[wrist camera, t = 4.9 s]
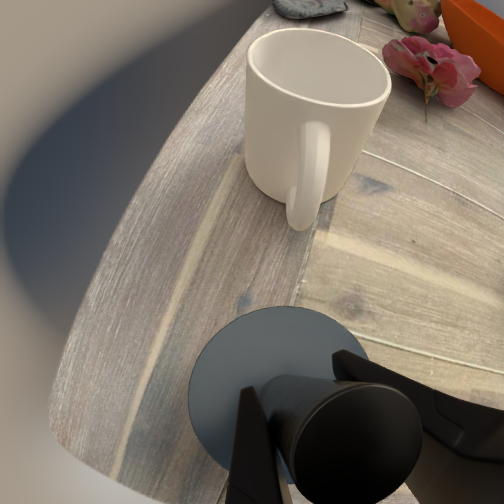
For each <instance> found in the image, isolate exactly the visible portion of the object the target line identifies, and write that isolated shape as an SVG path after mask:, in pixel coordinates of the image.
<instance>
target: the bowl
mask: <svg viewBox="0 0 504 504" xmlns="http://www.w3.org/2000/svg"><path fill="white" fill-rule="evenodd" d="M441 12H442V17H443V21H444V24H445V28H446V30H447V33H448V36H449V38H450V41H451V43H452V46H453V49H456V50H457V51H458V52H459V53H460V54H461V55H467V56H469V57H471V58H473V61H474V63H475V64H476V65H477V66H478V67H479V68H480V70H481V73H480V75H479V77H478V78H479V79H480V80H481V81H482V82H484V83H485V84H486V85H488V86H489V87H490V88H492V89H493V90H495V91H497V92H498V93H500V94H502V95H504V20H503V19H502V18H501V17H499V16H497V15H496V14H495V13H493V12H492V11H490V10H489V9H487V8H486V7H484V6H482V5H481V4H479V3H477V2H475V1H474V0H441Z"/></svg>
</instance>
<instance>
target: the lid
mask: <svg viewBox="0 0 504 504" xmlns="http://www.w3.org/2000/svg"><path fill="white" fill-rule="evenodd" d="M341 349H346V350H348V351H350V352H352V353H354V354H356V355H359V356H361V357H363V358H365V359H367V360H369V359H368V357H367V355H366V352H365V351H364V349H363V348H362V346H361V344H360V343H359V342H358V340H357V339H356V338H355V337H354V336H353V334H352V333H350V332H349V331H348V330H347V329H346V328H345V327H344V326H343V325H341V324H340V323H338V322H337V321H335V320H334V319H332V318H330V317H328V316H326V315H324V314H322V313H319V312H316V311H314V310H310V309H306V308H301V307H292V306H277V307H270V308H264V309H260V310H257V311H253V312H250V313H248V314H246V315H243V316H241V317H239V318H237V319H236V320H234V321H232V322H230V323H229V324H228V325H226V326H225V327H224V328H222V329H221V330H220V331H219V332H218V333H217V334H216V335H215V336H214V337H213V338H211V340H210V341H209V342H208V343H207V345H206V346H205V347H204V349H203V350H202V352H201V354H200V355H199V357H198V359H197V361H196V363H195V366H194V368H193V370H192V374H191V378H190V381H189V388H188V409H189V416H190V420H191V423H192V426H193V429H194V432H195V434H196V436H197V438H198V440H199V441H200V443H201V445H202V446H203V448H204V449H205V450H206V452H207V453H208V454H209V455H210V456H211V457H212V458H213V459H214V460H215V461H216V462H217V463H218V464H220V465H221V466H222V467H223V468H225V469H226V470H228V471H230V464H231V457H232V449H233V441H234V434H235V426H236V418H237V411H238V403H239V395H240V390H241V389H242V388H245V387H248V386H251V385H252V386H254V388H255V390H256V393H257V395H258V398H259V400H260V403H261V405H262V408H263V410H264V412H265V415H266V418H267V420H268V423H269V426H270V428H271V431H272V435H273V438H274V441H275V443H276V445H277V448H278V451H279V454H280V458H281V462H282V466H283V469H284V473H285V477H286V481H287V484H295V485H296V487H297V489H298V490H299V491H300V493H301V494H302V495H303V496H304V497H305V498H306V499H307V500H309V501H310V502H312V503H313V504H376V503H378V502H380V501H382V500H383V499H385V498H387V497H388V496H389V495H391V494H392V493H393V492H395V491H396V490H397V489H398V488H399V487H400V486H401V485H402V484H403V483H404V481H405V480H406V479H407V478H408V476H409V475H410V473H411V472H412V470H413V468H414V467H415V465H416V463H417V460H418V458H419V455H420V451H421V447H422V441H423V429H422V423H421V419H420V416H419V413H418V411H417V409H416V408H415V406H414V404H413V403H412V402H411V400H410V399H409V398H408V397H407V396H406V395H405V394H403V393H402V392H400V391H399V390H397V389H395V388H393V387H391V386H387V385H384V384H377V383H366V382H353V381H342V380H337V379H336V378H335V376H334V373H333V367H332V354H333V353H334V352H336V351H339V350H341Z"/></svg>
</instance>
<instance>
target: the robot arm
mask: <svg viewBox="0 0 504 504" xmlns="http://www.w3.org/2000/svg"><path fill="white" fill-rule="evenodd" d="M332 367H333V373H334V376H335V378H336V379H337V380H342V381H353V382H366V383H377V384H384V385H387V386H391V387H393V388H395V389H397V390H399V391H400V392H402V393H403V394H405V395H406V396H407V397H408V398H409V399H410V400H411V402H412V403H413V404H414V406H415V408H416V409H417V411H418V413H419V416H420V419H421V423H422V429H423V441H422V447H421V451H420V455H419V458H418V460H417V463H416V465H415V467H414V468H413V470H412V472H411V473H410V475H409V476H408V478H407V479H406V480H405V481H404V482H405V484H406V485H407V486H408V488H409V489H410V490H411V492H412V493H413V494H414V496H415V497H416V498H417V500H418V501H419V503H420V504H504V410H499V409H494V408H490V407H486V406H483V405H479V404H475V403H471V402H468V401H465V400H461V399H458V398H455V397H453V396H450V395H447V394H445V393H442V392H440V391H437V390H435V389H434V390H433V389H432V388H430V387H428V386H425V385H423V384H421V383H419V382H416V381H414V380H412V379H409V378H407V377H405V376H403V375H400V374H398V373H396V372H394V371H391V370H389V369H387V368H385V367H383V366H380V365H378V364H376V363H374V362H372V361H369V360H367V359H365V358H363V357H361V356H359V355H356V354H354V353H352V352H350V351H348V350H346V349H341V350H339V351H336V352H334V353H333V354H332ZM228 483H229V484H228V486H227V493H226V499H225V504H293V503H292V499H291V495H290V492H289V488H288V484H287V481H286V477H285V473H284V469H283V466H282V462H281V458H280V454H279V451H278V448H277V445H276V443H275V441H274V438H273V435H272V431H271V428H270V426H269V423H268V420H267V418H266V415H265V412H264V410H263V408H262V405H261V403H260V400H259V398H258V395H257V393H256V390H255V388H254V386H252V385H251V386H248V387H245V388H242V389H241V390H240V395H239V403H238V411H237V418H236V426H235V434H234V441H233V449H232V457H231V464H230V472H229V479H228Z"/></svg>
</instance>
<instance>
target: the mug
mask: <svg viewBox="0 0 504 504" xmlns="http://www.w3.org/2000/svg"><path fill="white" fill-rule="evenodd" d="M390 91H391V78H390V75H389V72H388V71H387V69H386V67H385V66H384V65H383V63H382V62H381V61H380V60H379V59H378V58H377V57H376V56H375V55H374V54H373V53H371V52H370V51H369V50H367V49H366V48H364V47H363V46H361V45H359V44H358V43H356V42H354V41H352V40H349V39H347V38H345V37H342V36H340V35H337V34H333V33H330V32H326V31H321V30H316V29H307V28H288V29H280V30H276V31H272V32H269V33H266V34H264V35H262V36H260V37H259V38H257V39H256V40H255V41H254V42H253V43H252V44H251V45H250V47H249V49H248V51H247V62H246V102H245V147H244V151H245V163H246V168H247V171H248V174H249V176H250V178H251V179H252V181H253V182H254V183H255V185H256V186H257V187H258V188H259V189H260V190H261V191H262V192H264V193H265V194H266V195H268V196H269V197H271V198H273V199H275V200H277V201H279V202H282V203H285V204H286V213H287V221H288V223H289V225H290V226H291V227H292V228H293V229H294V230H297V231H303V230H305V229H307V228H309V227H310V226H311V224H312V223H313V221H314V220H315V218H316V215H317V213H318V210H319V207H320V204H321V203H323V202H325V201H327V200H329V199H331V198H332V197H334V196H335V195H336V194H337V193H338V192H339V191H340V190H341V189H342V188H343V186H344V185H345V183H346V181H347V180H348V178H349V176H350V174H351V172H352V170H353V168H354V166H355V164H356V162H357V160H358V158H359V156H360V154H361V152H362V150H363V148H364V146H365V144H366V142H367V140H368V138H369V136H370V134H371V132H372V130H373V128H374V126H375V124H376V122H377V119H378V117H379V115H380V113H381V111H382V109H383V107H384V105H385V103H386V100H387V98H388V96H389V94H390Z"/></svg>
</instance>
